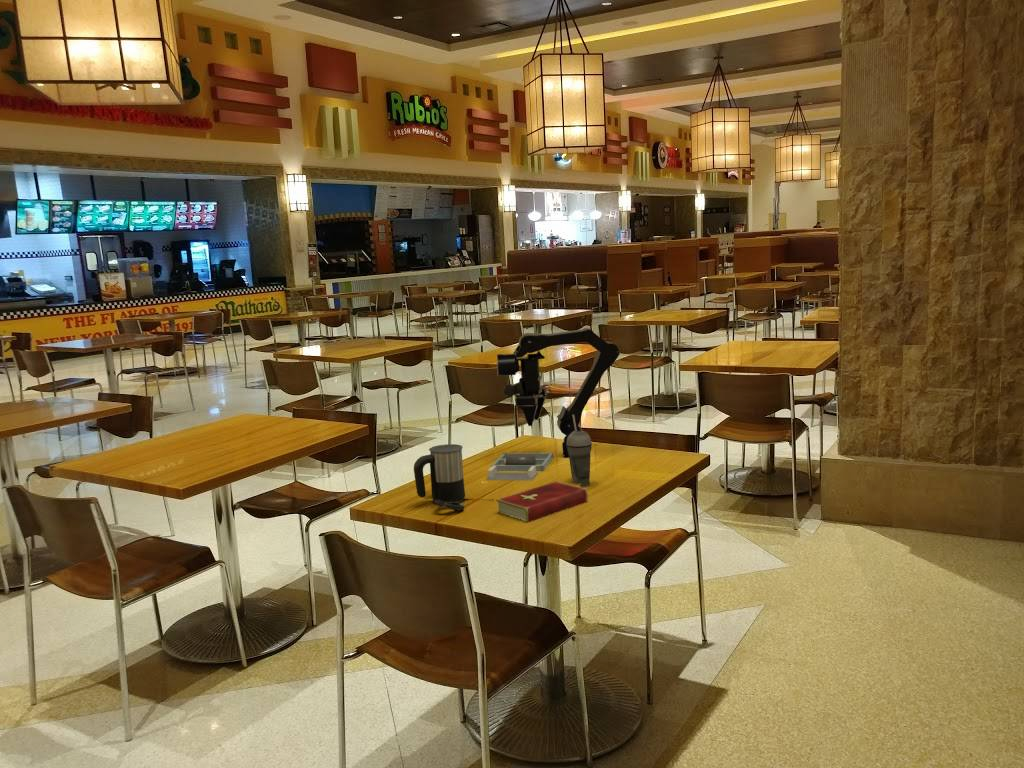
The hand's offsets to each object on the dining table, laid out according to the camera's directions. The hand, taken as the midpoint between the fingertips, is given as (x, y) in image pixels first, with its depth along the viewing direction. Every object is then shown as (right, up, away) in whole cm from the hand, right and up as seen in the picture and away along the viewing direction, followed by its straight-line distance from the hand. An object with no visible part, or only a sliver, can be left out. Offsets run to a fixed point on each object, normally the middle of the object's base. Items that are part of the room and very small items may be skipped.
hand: (533, 422), depth 261 cm
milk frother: (-23, -20, -39) cm, 50 cm away
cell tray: (-3, -13, -6) cm, 15 cm away
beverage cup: (+13, -16, -29) cm, 35 cm away
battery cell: (-4, -13, -10) cm, 17 cm away
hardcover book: (+1, -20, -46) cm, 51 cm away
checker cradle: (-7, -16, -19) cm, 26 cm away
